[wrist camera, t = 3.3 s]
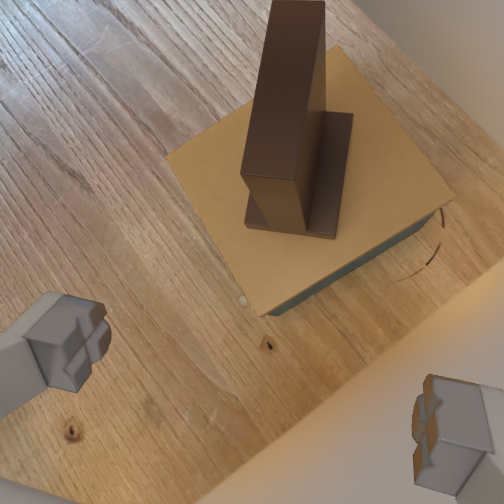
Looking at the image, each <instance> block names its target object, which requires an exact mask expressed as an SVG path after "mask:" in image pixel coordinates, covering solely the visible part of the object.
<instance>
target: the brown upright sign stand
mask: <svg viewBox="0 0 504 504" xmlns="http://www.w3.org/2000/svg"><path fill="white" fill-rule="evenodd" d="M353 115H354V114H353V113H345V112H331V111H326V43H325V1H321V0H272V4H271V10H270V15H269V20H268V26H267V31H266V36H265V42H264V47H263V52H262V58H261V63H260V68H259V74H258V79H257V84H256V90H255V95H254V100H253V106H252V111H251V116H250V122H249V127H248V132H247V138H246V143H245V148H244V154H243V159H242V164H241V170H240V175H241V177H242V179H243V180H244V182H245V184H246V186H247V187H248V189H249V191H250V192H249V197H248V203H247V208H246V214H245V219H244V225H245V226H246V227H247V228H250V229H258V230H265V231H273V232H280V233H288V234H295V235H303V236H310V237H318V238H325V239H333V240H334V239H335V238H336V232H337V225H338V218H339V211H340V205H341V198H342V191H343V184H344V178H345V171H346V164H347V157H348V150H349V144H350V137H351V130H352V123H353Z"/></svg>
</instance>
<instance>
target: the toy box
mask: <svg viewBox="0 0 504 504" xmlns="http://www.w3.org/2000/svg"><path fill="white" fill-rule="evenodd" d="M253 100H254V99H253ZM253 100H251V101H250V102H248V103H247V104H245V105H243V106H242V107H240V108H239V109H237V110H236V111H234V112H233V113H231V114H230V115H228V116H226V117H225V118H223V119H222V120H220V121H219V122H217V123H216V124H214V125H213V126H211V127H210V128H208V129H206V130H205V131H203V132H202V133H200V134H199V135H197V136H196V137H194V138H193V139H191V140H189V141H188V142H186V143H185V144H183V145H182V146H180V147H179V148H177V149H176V150H174V151H173V152H171V153H169V154H168V155H166V156H165V158H166V160H167V162H168V163H169V165H170V167H171V169H172V170H173V172H174V174H175V175H176V177H177V179H178V181H179V182H180V184H181V186H182V188H183V189H184V191H185V193H186V194H187V196H188V198H189V200H190V201H191V203H192V205H193V206H194V208H195V210H196V212H197V213H198V215H199V217H200V219H201V220H202V222H203V224H204V225H205V227H206V229H207V231H208V232H209V234H210V236H211V238H212V239H213V241H214V243H215V244H216V246H217V248H218V250H219V251H220V253H221V255H222V256H223V258H224V260H225V262H226V263H227V265H228V267H229V269H230V270H231V272H232V274H233V275H234V277H235V279H236V281H237V282H238V284H239V286H240V288H241V289H242V291H243V293H244V294H245V296H246V298H247V300H248V301H249V303H250V305H251V307H252V308H253V310H254V312H255V313H256V315H257V317H258V318H262V317H263V316H265V315H266V314H268V315H273V316H279V315H281V314H282V313H284V312H286V311H287V310H289V309H290V308H292V307H294V306H295V305H297V304H299V303H300V302H302V301H304V300H305V299H307V298H308V297H310V296H312V295H313V294H315V293H317V292H318V291H320V290H322V289H323V288H325V287H327V286H328V285H330V284H331V283H333V282H335V281H336V280H338V279H340V278H341V277H343V276H345V275H346V274H348V273H349V272H351V271H353V270H354V269H356V268H358V267H359V266H361V265H363V264H364V263H366V262H368V261H369V260H371V259H372V258H374V257H376V256H377V255H379V254H381V253H382V252H384V251H386V250H387V249H389V248H390V247H392V246H394V245H395V244H397V243H399V242H400V241H402V240H404V239H405V238H407V237H409V236H410V235H412V234H413V233H415V232H417V231H418V230H419V229H420V228H421V227H422V226H423V225H424V224H425V223H426V222H427V221H428V220H429V219H430V217H431V216H432V215H433V214H434V213H435V212H436V211H437V210H438V209H440V208H441V207H443V206H445V205H446V204H448V203H450V202H451V201H453V200H454V199H455V197H456V195H455V194H454V192H453V191H452V190H451V188H450V187H449V186H448V185H447V183H446V182H445V181H444V179H443V178H442V177H441V176H440V174H439V173H438V172H437V170H436V169H435V168H434V167H433V165H432V164H431V163H430V162H429V160H428V159H427V158H426V156H425V155H424V154H423V153H422V151H421V150H420V149H419V147H418V146H417V145H416V144H415V142H414V141H413V140H412V138H411V137H410V136H409V135H408V133H407V132H406V131H405V129H404V128H403V127H402V126H401V124H400V123H399V122H398V120H397V119H396V118H395V117H394V115H393V114H392V113H391V112H390V110H389V109H388V108H387V106H386V105H385V104H384V103H383V101H382V100H381V99H380V97H379V96H378V95H377V94H376V92H375V91H374V90H373V88H372V87H371V86H370V85H369V83H368V82H367V81H366V79H365V78H364V77H363V76H362V74H361V73H360V72H359V70H358V69H357V68H356V67H355V65H354V64H353V63H352V61H351V60H350V59H349V58H348V56H347V55H346V54H345V53H344V51H343V50H342V49H341V47H340V46H339V45H336V46H334V47H333V48H331V49H330V50H328V51H327V52H326V111H331V112H345V113H353V114H354V115H353V123H352V130H351V137H350V144H349V150H348V157H347V164H346V171H345V178H344V184H343V191H342V198H341V205H340V211H339V218H338V225H337V232H336V238H335V239H334V240H333V239H325V238H318V237H310V236H303V235H295V234H288V233H280V232H273V231H265V230H258V229H250V228H247V227H246V226H245V225H244V219H245V214H246V208H247V203H248V197H249V192H250V191H249V189H248V187H247V186H246V184H245V182H244V180H243V179H242V177H241V175H240V170H241V164H242V159H243V154H244V148H245V143H246V138H247V132H248V127H249V122H250V116H251V111H252V106H253Z"/></svg>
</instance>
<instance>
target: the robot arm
mask: <svg viewBox="0 0 504 504" xmlns="http://www.w3.org/2000/svg"><path fill="white" fill-rule="evenodd" d="M106 314H107V312H106V309H105V306H104V304H102V303H99V302H95V301H91V300H87V299H83V298H79V297H75V296H71V295H66V294H62V293H58V292H54V291H49V292H47V293H44V294H43V295H42V296H41V297H40V298H39V299H38V300H37V301H36V302H35V303H34V304H33V305H32V306H31V307H30V308H29V309H28V310H27V311H26V312H25V313H24V314H23V315H22V316H20V317H19V318H18V319H17V320H16V321H15V322H14V323H13V324H12V325H11V326H10V327H9V328H8V329H7V330H6V331H5V332H4V333H2V332H0V419H1V418H3V417H4V416H6V415H8V414H9V413H11V412H12V411H14V410H15V409H17V408H18V407H20V406H21V405H23V404H24V403H26V402H28V401H29V400H31V399H32V398H34V397H35V396H37V395H38V394H40V393H41V392H43V391H44V390H46V389H47V388H48V387H52V388H56V389H61V390H65V391H69V392H73V393H78V391H79V390H80V389H81V387H82V386H83V384H84V383H85V382H86V380H87V379H88V378H89V376H90V375H91V373H92V364H94V363H96V362H97V361H99V360H101V359H102V358H103V356H104V355H105V353H106V352H107V350H108V347H109V345H110V342H111V328H110V325H109V324H108V323H107V322H106V321H105V319H104V316H105V315H106ZM47 386H48V387H47ZM423 392H424V393H423V394H421V395H419V396H418V397H417V399H416V402H415V405H414V410H413V415H412V437H413V438H414V440H415V441H416V443H417V444H418V445H417V448H416V450H415V452H414V454H413V466H414V484H415V485H418V486H421V487H424V488H428V489H431V490H434V491H438V492H441V493H444V494H448V495H451V496H455V497H456V501H457V503H458V504H504V391H503V390H502V389H498V388H494V387H489V386H484V385H480V384H475V383H471V382H467V381H462V380H457V379H452V378H447V377H443V376H438V375H433V374H428V375H427V376H426V378H425V380H424V383H423ZM0 504H81V503H78V502H75V501H72V500H69V499H65V498H62V497H59V496H56V495H53V494H50V493H47V492H44V491H41V490H38V489H35V488H32V487H29V486H26V485H23V484H20V483H17V482H14V481H11V480H8V479H5V478H2V477H0Z"/></svg>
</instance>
